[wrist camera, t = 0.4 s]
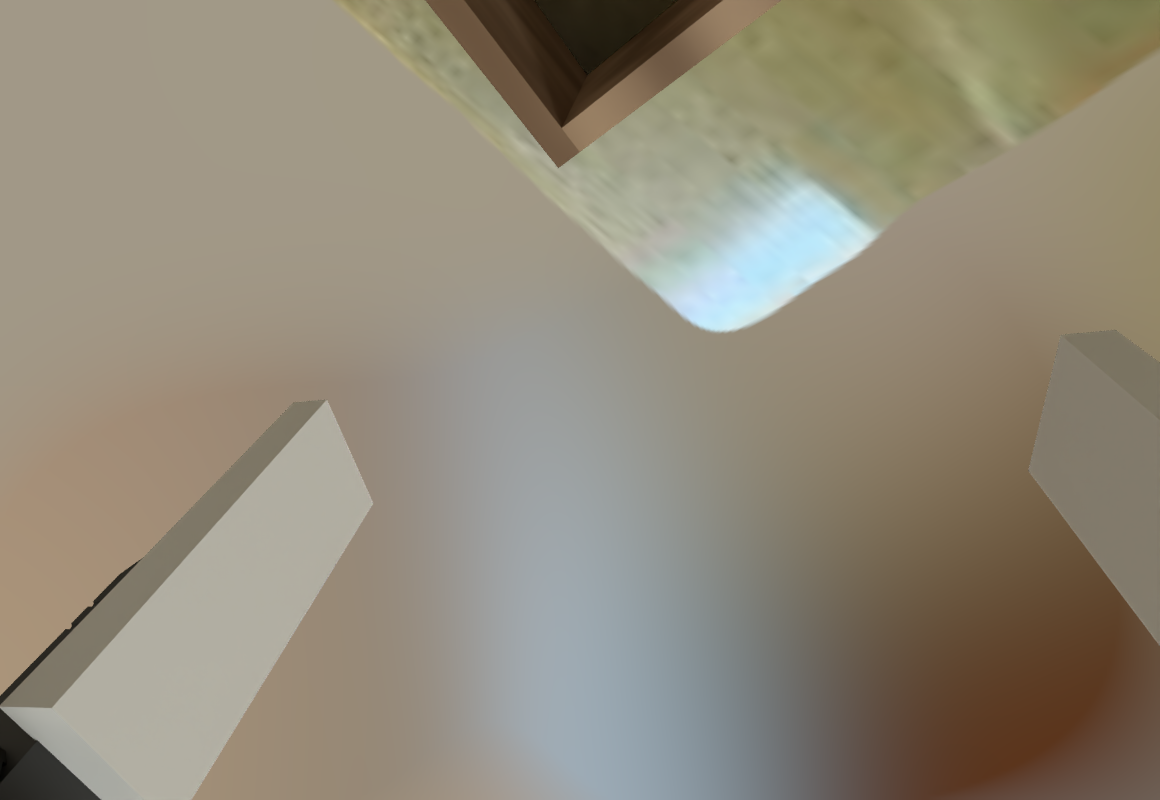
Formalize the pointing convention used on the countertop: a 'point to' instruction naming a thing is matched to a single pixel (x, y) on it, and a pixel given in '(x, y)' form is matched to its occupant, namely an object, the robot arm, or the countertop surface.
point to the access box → (556, 80)
